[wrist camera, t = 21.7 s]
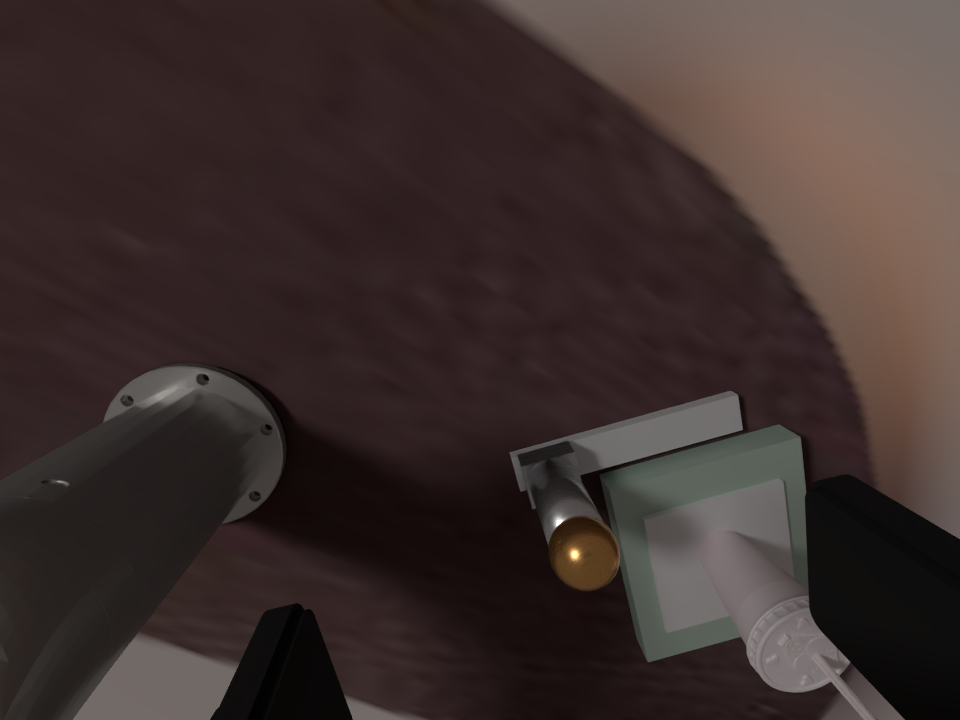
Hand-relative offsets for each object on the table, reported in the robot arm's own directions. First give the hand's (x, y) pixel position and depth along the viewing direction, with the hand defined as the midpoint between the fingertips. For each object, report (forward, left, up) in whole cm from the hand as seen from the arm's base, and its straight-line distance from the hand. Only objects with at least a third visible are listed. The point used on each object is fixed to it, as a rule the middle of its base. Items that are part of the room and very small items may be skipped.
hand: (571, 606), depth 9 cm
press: (+10, -21, -28) cm, 36 cm away
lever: (+2, -12, -26) cm, 29 cm away
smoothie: (+14, -22, -25) cm, 36 cm away
